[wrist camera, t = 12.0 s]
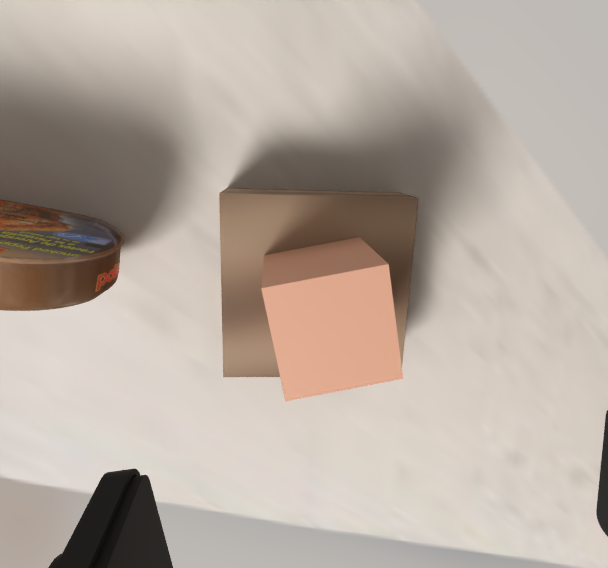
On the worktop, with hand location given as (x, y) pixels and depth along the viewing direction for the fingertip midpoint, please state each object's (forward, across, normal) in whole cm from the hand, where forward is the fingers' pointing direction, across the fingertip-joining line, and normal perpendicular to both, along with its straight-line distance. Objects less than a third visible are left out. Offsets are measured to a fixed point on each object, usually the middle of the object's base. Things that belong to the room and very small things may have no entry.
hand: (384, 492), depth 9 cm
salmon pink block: (+15, 0, +1) cm, 15 cm away
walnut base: (+19, 0, +1) cm, 19 cm away
